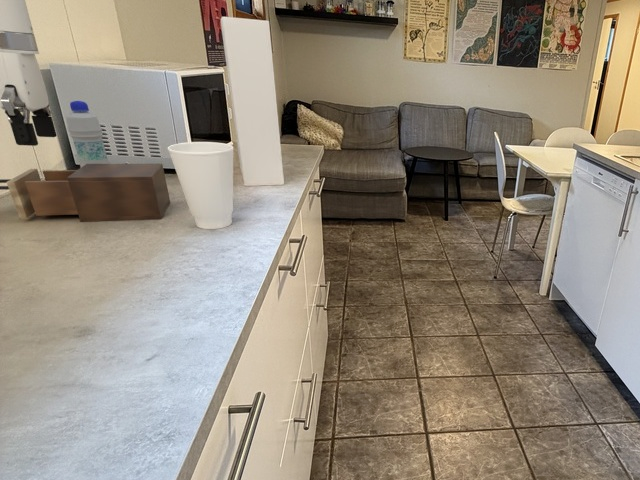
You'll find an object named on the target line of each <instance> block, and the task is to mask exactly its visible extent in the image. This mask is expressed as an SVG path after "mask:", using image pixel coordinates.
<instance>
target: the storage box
mask: <svg viewBox="0 0 640 480" xmlns="http://www.w3.org/2000/svg"><path fill="white" fill-rule="evenodd" d="M219 22H220V27H221V35H222V40H223V42H222V43H223V50H224V56H225V57H224V58H225V65H226V72H227V80H228V86H229V94H230V101H231V109H232V110H231V111H232V117H233V123H234V131H235V139H236V147H237V154H238V161H239V168H240V173H241V177H242V181H243V185H244V187H257V186H258V187H261V186H282V185H283V186H284V185H285V177H284V169H283V167H284V166H283V157H282V146H281V144H282V143H281V135H280V125H279V115H278V114H279V113H278V102H277V92H276V91H277V90H276V81H275V72H274V71H275V70H274V62H273V61H274V59H273V50H272V39H271V29H270V28H271V27H270V21H269V20H264V19H263V20H262V19H255V18H252V19H251V18H244V17H243V18H241V17H232V16H221V18H220V21H219Z"/></svg>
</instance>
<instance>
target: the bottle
mask: <svg viewBox="0 0 640 480" xmlns="http://www.w3.org/2000/svg"><path fill="white" fill-rule="evenodd" d="M69 106H70V109H71V112H70V113H68V114H67V115H66V116H65V118H66V124H67V131H68V133H69V136H70V137H71V139H72V141H73V145H74V149H75V152H76V155H77V158H78V163H79V167H80V168H81V167H83V166H84V165H86V164H110V161H109V160H108V155H107V151H106V148H105V143H104V140H103V137H104V134H103V128H102V126H101V124H100V122H99V119H98V116H97V115H95V114H93V113H92V112H90V109H89V106H88V104H87V102H85V101H82V100H74V101H71V102H70V103H69Z"/></svg>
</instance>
